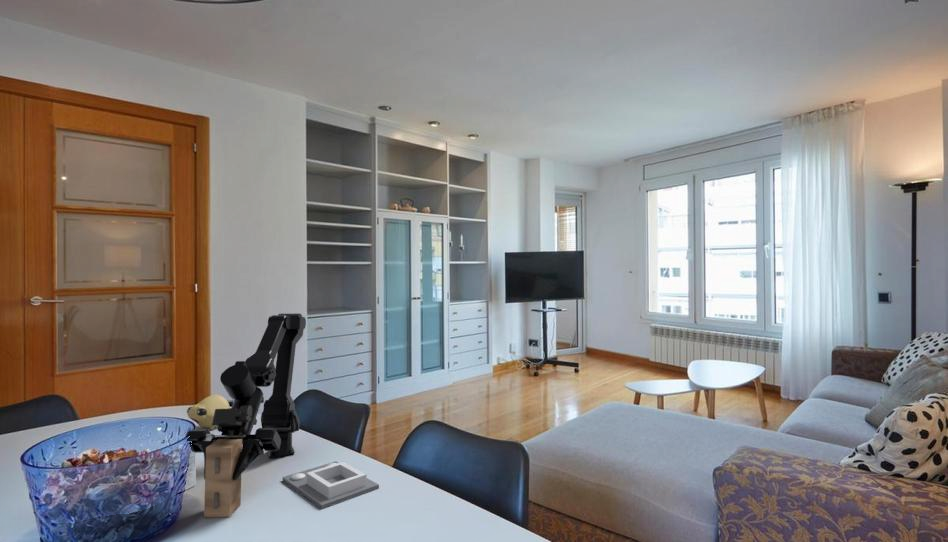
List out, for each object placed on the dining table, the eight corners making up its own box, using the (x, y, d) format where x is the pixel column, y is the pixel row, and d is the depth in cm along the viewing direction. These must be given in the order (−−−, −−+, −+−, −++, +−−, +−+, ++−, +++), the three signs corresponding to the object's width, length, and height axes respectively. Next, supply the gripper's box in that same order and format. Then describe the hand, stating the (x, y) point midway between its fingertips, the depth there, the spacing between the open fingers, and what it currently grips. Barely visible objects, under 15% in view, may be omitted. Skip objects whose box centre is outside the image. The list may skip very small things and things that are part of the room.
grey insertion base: (282, 480, 111) (282, 466, 111) (336, 464, 121) (336, 451, 121) (321, 509, 97) (322, 493, 97) (378, 488, 107) (378, 473, 107)
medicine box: (196, 485, 109) (196, 448, 109) (179, 494, 104) (180, 455, 105) (170, 482, 111) (170, 445, 111) (152, 490, 106) (153, 452, 107)
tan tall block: (216, 505, 99) (218, 439, 99) (240, 505, 99) (242, 439, 99) (202, 519, 93) (203, 449, 93) (227, 519, 93) (229, 449, 93)
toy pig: (181, 431, 149) (181, 398, 149) (217, 421, 159) (217, 390, 160) (200, 436, 144) (200, 401, 145) (235, 425, 155) (235, 393, 155)
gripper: (188, 392, 100) (155, 463, 89) (276, 390, 101) (255, 461, 90) (207, 418, 108) (179, 486, 97) (289, 416, 109) (270, 484, 98)
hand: (219, 479), depth 95 cm, fingers closed on tan tall block, 5 cm apart
